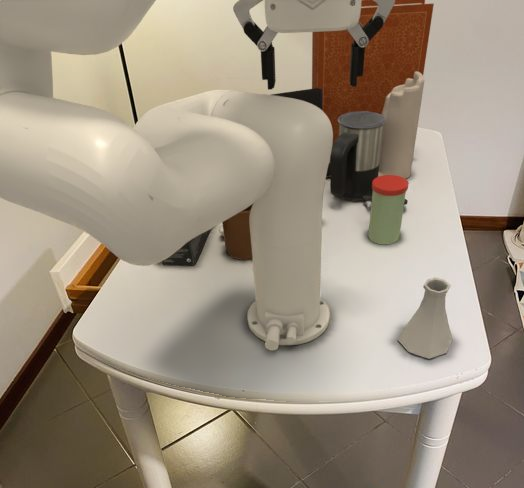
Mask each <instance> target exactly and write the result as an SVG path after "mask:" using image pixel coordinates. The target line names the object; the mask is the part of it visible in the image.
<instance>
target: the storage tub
mask: <svg viewBox="0 0 524 488" xmlns="http://www.w3.org/2000/svg"><path fill="white" fill-rule="evenodd" d="M408 188H409V181H408V180H407V178H406V179H405V178H403V177H400V176H395V175H383V176H379V177H377V178H375V179H374V180H373V182H372V189H373V193H372V202H371V205H370V213H369V214H370V215H369V225H368V235H367V236H368V239H369V240H370V241H371V242H373V243H375V244H378V245H391V244H395V243H396V242H398V241H399V239H400V236H401V228H402V221H403V214H404V207H405V205H404V201H405V199H406V194H407V191H408Z"/></svg>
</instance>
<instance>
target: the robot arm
mask: <svg viewBox="0 0 524 488" xmlns="http://www.w3.org/2000/svg"><path fill="white" fill-rule="evenodd" d="M156 1H157V0H0V199H3V200H4V201H7V202H9V203H11V204H15V205H17V206H21V207H23V208H26V209H29V210H31V211H34V212H38V213H40V214H43V215H45V216H48V217H49V218H52V219H55V220H57V221H59V222H63V223H65V224H69V225H70V226H74V227H75V228H78V229H79V230H81V231H83V232H84V233H86V234H88V235H89V236H91V237H92V238H94V239H95V240H97V241H98V242H99V243H100V244H102V245H103V246H104V247H105V248H106V249H107V250H109V251H110V252H111V253H112V254H113V255H114V256H115V257H117V258H118V259H119V260H121V261H123V262H125V263H127V264H129V265H133V266H141V267H144V266H145V267H147V266H151V265H153V266H154V265H156V264H158V263H162V261H163V260H165V259H167V258H168V257H170V256H171V255H172V254H174V253H175V252H176V251H177V250H179V249H180V248H181V247H182V246H183V245H185V244H186V243H187V242H188V241H190V240H191V239H193V238H195V237H196V236H198V235H200V234H202V233H204V232H206V231H208V230H210V231H211V230H212V229H213V228H215V227H216V226H218V225H220V224H223V223H222V222H224V221H225V220H227V219H229V218H230V217H232V216H234V215H236V214H237V213H239V212H241V211H243V210H244V209H246V208H247V207H249V206H250V205H252V204H253V203H254V204H253V206H252V208H251V211H250V217H249V224H250V235H251V247H252V270H253V282H254V292H255V293H254V294H255V300H253V302H252V303H251V304H250V306H249V308H248V310H247V314H246V315H247V325H248V328H249V330H250V331H251V332H252V333H253V334H254V336H255V337H257V338H259V339H260V340H262V341H264V347H265V348H266V349H267V350H268V351H276V350H278V349H279V346H297V345H298V346H299V345H303V344H306V343H308V342H312V341H313V340H315V339H317V338H318V337H320V336H321V335H322V334H323V333H325V331H326V330H327V328H328V327H329V324H330V318H331V312H330V308H329V305H328V304H327V303H326V301H325V300H324V299H323V298H321V278H322V276H321V275H322V274H321V272H322V240H323V239H322V237H323V235H322V234H323V232H322V231H323V205H324V195H325V194H324V193H325V185H326V179H327V177H326V174H327V169H328V165H329V160H330V155H331V150H332V144H333V130H332V125H331V122H330V120H329V118H328V117H327V115H326V114H325V113H324V112H323V111H322V110H321V109H320V108H318V107H317V106H315V105H313V104H311V103H308V102H305V101H302V100H298V99H294V98H288V97H281V96H274V95H271V94H267V93H255V92H250V91H249V92H248V91H241V90H235V89H227V88H226V89H225V88H222V89H221V88H220V89H219V88H218V89H212V90H208V91H204V92H200V93H196V94H194V95H193V94H192V95H190V96H186V97H183V98H179V99H177V100H173V101H169V102H166V103H163V104H159V105H157V106H154V107H153V108H150V109H149V110H147V111H146V112H145V113H144V114H143V115H141V117H140V118H139V119H138V120H137V121H136V123H135V125H130V124H129V123H128V122H126V121H125V120H124V119H122V118H121V117H118V116H117V115H115V114H113V113H111V112H109V111H107V110H104V109H102V108H98V107H95V106H91V105H88V104H87V105H86V104H82V103H77V102H74V101H68V100H65V99H61V98H55V97H54V80H53V79H54V78H53V59H52V53H60V54H65V55H66V54H67V55H77V56H92V55H93V56H94V55H100V54H105V53H108V52H110V51H112V50H114V49H116V48H118V47H119V46H120V45H122V44H123V43H124V42H125V41H127V40H128V39H129V38H130V36H132V34H133V33H134V31H135V30H136V29H137V28H138V27H139V25H140V23H141V22H142V20H144V18H145V16H146V15H147V13H148V12H149V11H150V9H151V8H152V7H153V5H155V2H156ZM263 1H264V14H265V15H264V16H265V23H266V27H265V29H264V30H262V29H261V28H260V27H259V25H258V24H257V23H256V22H255V21H254V20H253V18H252V15H251V12H250V10H252V9H253V8H254V7H256V6H257V5H259V4H260V3H262V2H263ZM361 1H362V0H238V1H236V2H235V3H234V5H233V8H232V9H233V13H234V15H235V17H236V19H237V20H238V23H239V25H240V26H241V28H242V30H243V33H244V35H246V36H247V38H249V39H250V41H251V42H252V43H253V44H254V45H255V46H256V48H257V50H258V51H260V64H261V80H262V81H266V82H267V90H273V89H275V86H276V81H277V80H276V79H277V78H276V54H275V53H276V52H275V51H276V49H275V46H274V45H273V41H274V40H275V38H276V36H277V35H278V34H279V33H280V34H297V33H312V32H322V31H340V30H348V31H349V33H350V34H351V35H352V37H353V38H354V42H353V44H351V60H350V77H349V80H350V86H352V87H356V86H357V77H363V68H364V54H365V46H367V44H368V42H369V41H370V40H371V39H372V38H373V37H374V36H375V35H376V33H377V32H378V31H379V30H380V29H381V28H382V27H383V24H384V22H385V20H386V19H387V17H388V15H389V13H390V11H391V9H392V7H393V5H394V3H395V0H373V1H375V2H376V3H377V4H378V8H377V10H376V12H375V14H374V16H373V17H372V18H371V19H370V20H369V21H368V23H367V24H366V25H365V26H364V27H363V26H362V25H361V23H360V22H359V18H360V12H361Z"/></svg>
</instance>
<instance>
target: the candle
mask: <svg viewBox="0 0 524 488" xmlns="http://www.w3.org/2000/svg"><path fill="white" fill-rule="evenodd" d="M424 77H425V76H424V74H423V75H422V74H421V73H420V72H417V71H416V72H415V73H414V78H413V79H410V78H408V79H406V82H405V84H404V85H399V86H396V87H394V88H393V90H392V92H391V93H389V94H388V96H387V97H386V100H385V104H384V108H383V111H382V115H383V116H384V117H385V119H386V121H385V123H384V126H383V135H382V144H381V153H380V162H379V172H378V177H379V176H383V175H395V176H400V177H403V178H405V179H406V180H407V179H408V178H409V177H410V176H411V174H412V167H413V160H414V159H413V158H414V154H415V147H416V141H417V140H416V139H417V135H418V133H417V132H418V126H419V120H420V113H421V106H422V101H423V100H422V99H423V94H424V87H425V78H424Z"/></svg>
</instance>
